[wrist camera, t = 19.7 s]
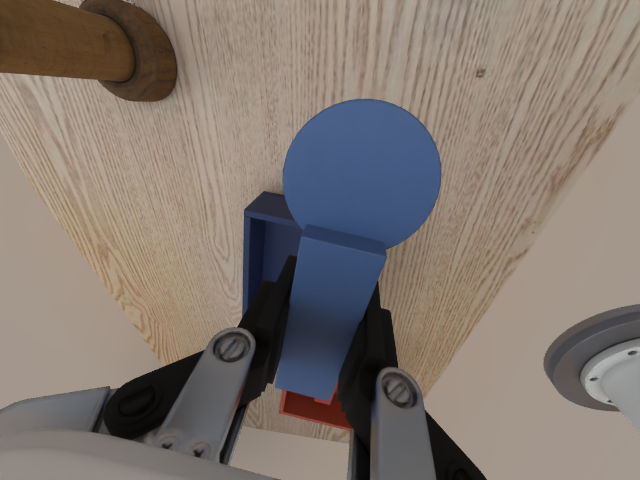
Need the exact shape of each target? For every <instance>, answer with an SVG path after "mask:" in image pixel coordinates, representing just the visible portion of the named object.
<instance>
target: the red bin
mask: <svg viewBox="0 0 640 480" xmlns="http://www.w3.org/2000/svg"><path fill="white" fill-rule="evenodd" d="M337 389H338V384H337V387H336V390H335V392H334V395H333V398H332V401H331V403H330V405H327V404H323V403H319V402H315V401H314V399H315V398H314V397H310V396H306V395H302V394H299V393H295V392H291V391H287V390H283V389H282V395H281V401H280V407H279V413H280V414H285V415H289V416H293V417H297V418H301V419H305V420H309V421H313V422H317V423H321V424H325V425H329V426H333V427H337V428H341V429H345V430H349V431H351V425H350V424H349V423H348V421H347V420H346V413H343V412H341V402H339V401H337Z"/></svg>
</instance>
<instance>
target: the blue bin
mask: <svg viewBox="0 0 640 480" xmlns="http://www.w3.org/2000/svg"><path fill="white" fill-rule="evenodd" d="M302 234H303V230H302V229H301V227H300V226H299V225H298V224H297V222H296V221H295V219H294V218H293V216H292V214H291V212H290V210H289V208H288V205H287V202H286V200H285V196H284V195H279V194H274V193H270V192H265V191H264V192H263V193H261V194H260V195H259V196H258V197H257V198H256V199H255V200H254V201H253V202H252V203H251V204H250V205H249V206H248V207H246V208H245V209H244V251H243V309H242V318H243V316H244V314H245V312H246V310H247V308H248V307H249V305H250V303H251V301H252V299H253V298H254V296H255V294H256V292H257V290H258V288H259V287H260V285H261V283H262V281H263V280H264V279H266V280H270V281H274V282H276V281H277V279H278V277H279V275H280V273H281V271H282V269H283V267H284V264H285V262H286V260H287V258H288V256H289V255H293V256H297V257H298V251H299V245H300V240H301V236H302Z"/></svg>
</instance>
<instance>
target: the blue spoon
mask: <svg viewBox="0 0 640 480" xmlns="http://www.w3.org/2000/svg"><path fill="white" fill-rule="evenodd" d="M440 185H441V162H440V157H439V153H438V150H437V147H436V144H435V142H434V140H433V138H432V137H431V135H430V133H429V132H428V130H427V129H426V128H425V126H424V125H423V124H422V123H421V122H420V121H419V120H418V119H417V118H416V117H415V116H413V115H412V114H411V113H409V112H408V111H406V110H405V109H403V108H401V107H399V106H397V105H395V104H392V103H388V102H385V101H381V100H374V99H355V100H349V101H344V102H341V103H338V104H335V105H333V106H331V107H328V108H326V109H324V110H323V111H321V112H320V113H318V114H317V115H315V116H314V117H313V118H312V119H310V120H309V121H308V122H307V123H306V124H305V125H304V126H303V127H302V129H301V130H300V131H299V132H298V134H297V135H296V137H295V138H294V140H293V141H292V143H291V146H290V148H289V150H288V152H287V156H286V159H285V163H284V168H283V190H284V195H285V200H286V202H287V205H288V208H289V210H290V212H291V214H292V216H293V218H294V219H295V221H296V222H297V224H298V225H299V226H300V227H301V229H302V230H303V234H302V236H301V240H300V245H299V251H298V257H297V262H296V268H295V274H294V279H293V285H292V291H291V296H290V302H289V304H290V308H289V314H288V319H287V325H286V330H285V336H284V341H283V347H282V352H281V358H280V362H279V365H278V370H277V376H276V382H275V387H276V388H279V389H283V390H287V391H291V392H295V393H299V394H302V395H306V396H310V397H314V398H318V399H322V400H325V401H330V399H331V396H332V394H333V391H334V389H335V386H336V384H337V381H338V377H339V373H340V370H341V368H342V365H343V362H344V360H345V357H346V355H347V352H348V350H349V347H350V345H351V342H352V340H353V337H354V335H355V332H356V330H357V327H358V325H359V322H361V321H362V319H363V316H364V314H365V311H366V309H367V306H368V304H369V301H370V299H371V296H372V294H373V291H374V289H375V286H376V284H377V281H378V278H379V276H380V273H381V271H382V268H383V266H384V263H385V261H386V258H387V255H386V249H388V248H391V247H393V246H395V245H397V244H399V243H401V242H403V241H404V240H405V239H407V238H408V237H410V236H411V235H412V234H413V233H414V232H416V231H417V230H418V229H419V228H420V226H421V225H422V224H423V223H424V222H425V220H426V219H427V218H428V216H429V215H430V213H431V211H432V209H433V207H434V205H435V203H436V200H437V197H438V194H439V190H440Z"/></svg>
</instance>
